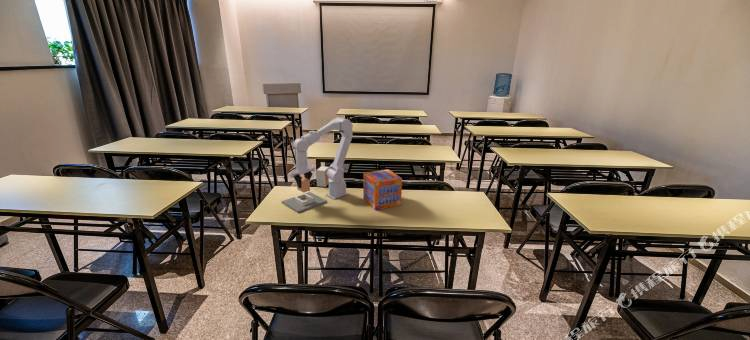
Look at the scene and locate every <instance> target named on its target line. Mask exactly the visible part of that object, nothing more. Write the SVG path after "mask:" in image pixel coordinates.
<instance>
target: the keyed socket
mask: <svg viewBox="0 0 750 340" xmlns="http://www.w3.org/2000/svg"><path fill="white" fill-rule="evenodd" d="M326 203H328V200H326V199H325V198H322V197H321V196H319V195H318V194H315V193H313V192H311V191H307V192H304V193H301V194H298V195H295V196H293V197H290V198H287V199H284V200H281V204H282V205H284V206H285V207H286V206H287V208H289V209H291V210H293V211H294V212H296V213H297V214H299V213H302V212H306V211H307V210H310V209H312V208H316V207H319V206H321V205H324V204H326Z"/></svg>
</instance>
